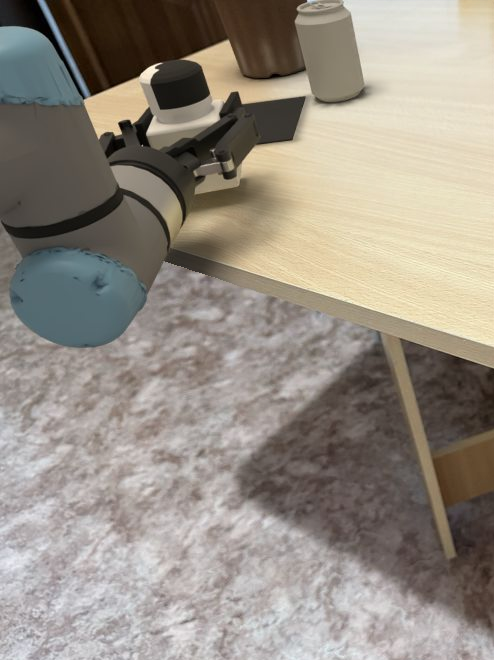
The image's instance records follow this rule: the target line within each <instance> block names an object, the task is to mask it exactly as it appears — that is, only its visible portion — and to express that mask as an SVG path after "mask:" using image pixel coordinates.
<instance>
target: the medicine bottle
mask: <svg viewBox="0 0 494 660" xmlns="http://www.w3.org/2000/svg"><path fill="white" fill-rule="evenodd" d="M138 82H139V84H140V86H141V89H142V91H143V94H144V97H145V99H146V102H147V104H148V107H150V110H151V112H152V114H153V115H154V117H153V119H152V121H151V124H150V126H149V128H148V130H147V133H146V136H147V138H148V141H149V143H150V146H151V148H154V149H157V150H160V149H161V148H163V147H165V146H168V147H169V146H171V145H172V144H174V143H175V142H177V141H179V140H180V139H182V138H193V137H194V136H196V135H197V134H199V133H200V132H202V131H204V130H205V129H207V128H208V127H210V126H211V125H213V124H214V123H216V122H217V121H219V120H220V116H219V112H220V111H221V109H222V107H223V106H224V104H225V101H224V100H223V99H222V98H218V99H213V96H212V94H211V91H210V87H209V85H208V82H207V79H206V76H205V73H204V70H203V67H202V65H201V64H199V63H198V62H196V61H193V60H189V59H173V60H167V61H162V62H159V63H155V64H153V65H151V66H149V67H147V68H146V69H145V70H143V72H141V73H140V75H139V78H138ZM242 166H243V162H242V163H241V164H240V165H239V166H238V168H237V176H236V177H235V178H233V179H230V180H225V179H224V178H223V175H218V173H215V174H210V175H206V178H205V180H204V181H203V182H202V183H201V184H199V185H198V186H197V187H196V188H195V195H200V194H205V193H211V192H216V191H221V190H226V189H232V188H237V187H239V186H240V182H241V175H242Z"/></svg>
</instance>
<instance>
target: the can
mask: <svg viewBox="0 0 494 660" xmlns="http://www.w3.org/2000/svg"><path fill="white" fill-rule="evenodd" d="M344 3H345V1H344V0H310V1H307V3H304V4H301V5H300V6H298V7H297V11H298V12H299V14H298V16H297V18H296V20H295V25H296V29H297V33H298V38H299V42H300V46H301V50H302V54H303V58H304V62H305V67H306V69H305V71H306V74H307V78H308V82H309V88H310V91H311V95H313V96H314V97H315V98H318V100H319V101H321V102H325V103H339V102H344V101H348V100H351V99H354V98H356V97H357V96H359V95H360V93H361V91H362V90H363V89H364V87H365V80H364V74H363V70H362V63H361V59H360V53H359V48H358V43H357V38H356V33H355V27H354V21H353V18H352V13H351V11H350V10H349V9H347V8H346V7H345V6H344Z"/></svg>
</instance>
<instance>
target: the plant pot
mask: <svg viewBox="0 0 494 660" xmlns="http://www.w3.org/2000/svg"><path fill="white" fill-rule="evenodd" d="M213 2H214V5H215V7H216V10H217V13H218V15H219V18H220V20H221V23H222V26H223V28H224V31H225V33H226V36H227V39H228V42H229V45H230V47H231V50H232V52H233V55H234V58H235V60H236V63H237V66H238V69H239V71H240V74H242V75H244V76H246V77H249V78H255V79H258V78H261V79H263V78H266V79H267V78H270V77H271V76H272V75H273V74H274V75H275V74H276V75H280V76H281V77H282V76H287V75H291V74H294V73H295V74H297V73H299V72H302V71H303V70H306V67H305V62H304V58H303V54H302V50H301V46H300V42H299V38H298V33H297V29H296V25H295V20H296V18H297V16H298V14H299V12H298V11H297V7H298V6H300V5H301V4H304V3H307V2H308V0H213Z"/></svg>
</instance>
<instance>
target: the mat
mask: <svg viewBox="0 0 494 660" xmlns="http://www.w3.org/2000/svg"><path fill="white" fill-rule="evenodd" d="M305 100H306V95H304V96H295V97H294V96H293V97H288V98H280V99H279V98H278V99H272V100H263V101H257V102H249V103H242V105H243V107H244V109H245V112H246V114H247V113H252V114H254V117H255V121H256V124H257V127H258V131H259V134H260V137H261V139H260V140H259V141H258V143H257V144H256V145H263V144H272V143H281V142H286V141H293V139H294V135H295V132H296V129H297V126H298V122H299V119H300V115H301V112H302V110H303V107H304V104H305ZM256 145H255V146H256Z"/></svg>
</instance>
